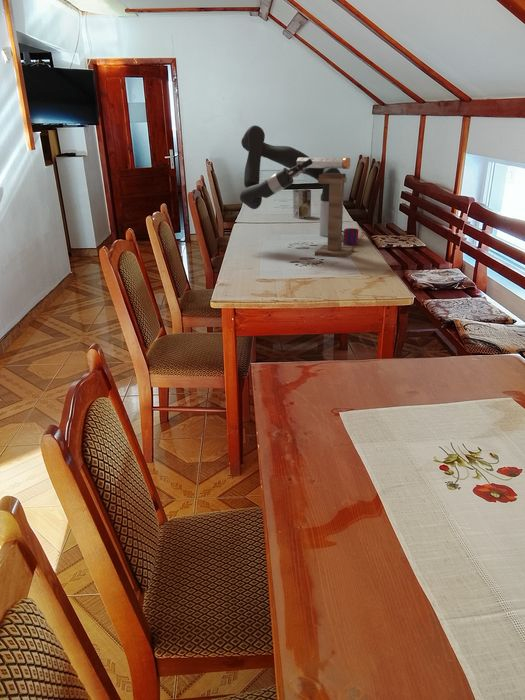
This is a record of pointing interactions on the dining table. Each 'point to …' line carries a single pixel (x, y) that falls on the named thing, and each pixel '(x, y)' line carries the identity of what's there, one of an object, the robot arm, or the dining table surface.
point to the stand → (334, 216)
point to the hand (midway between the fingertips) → (312, 160)
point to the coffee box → (301, 203)
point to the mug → (350, 236)
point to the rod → (326, 162)
